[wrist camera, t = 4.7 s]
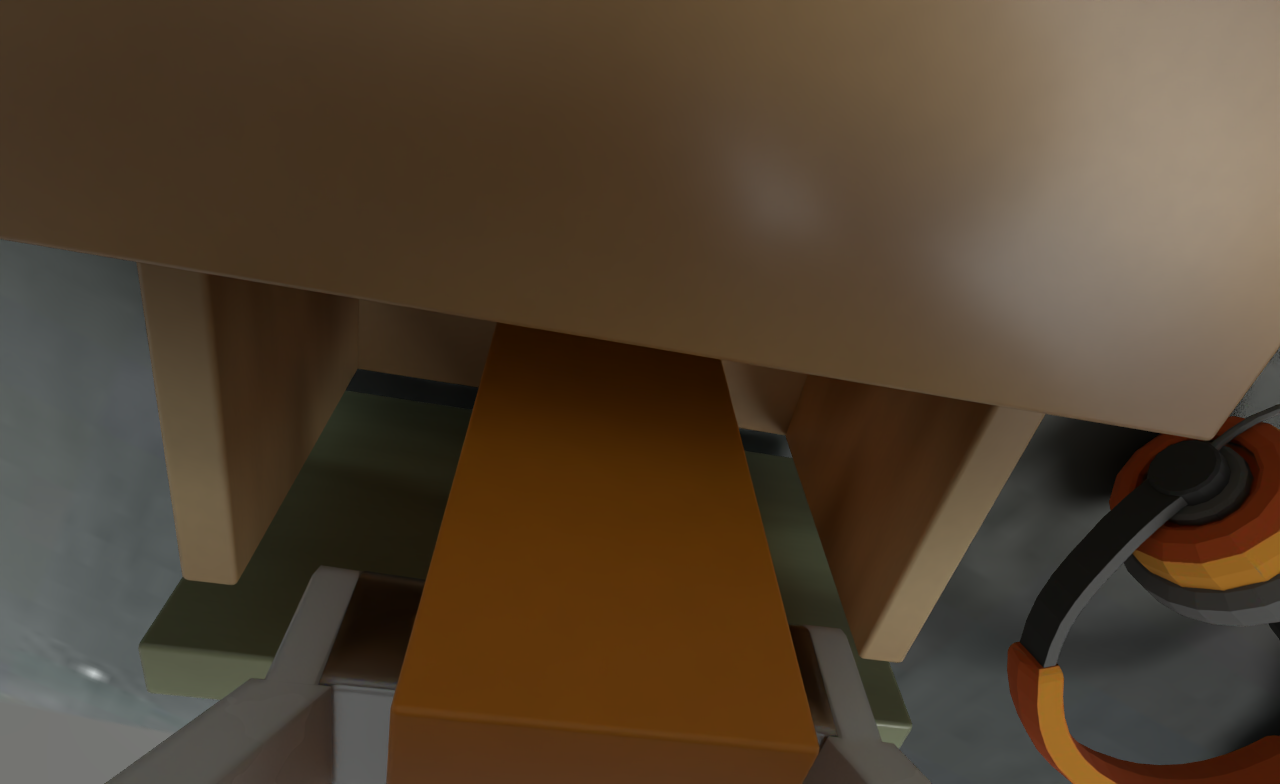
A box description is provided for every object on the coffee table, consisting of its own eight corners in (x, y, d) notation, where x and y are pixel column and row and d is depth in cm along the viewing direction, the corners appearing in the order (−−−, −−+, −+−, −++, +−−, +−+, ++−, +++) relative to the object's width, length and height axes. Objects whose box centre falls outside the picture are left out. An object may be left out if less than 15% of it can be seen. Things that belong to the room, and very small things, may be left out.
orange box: (522, 225, 15) (388, 709, 6) (696, 258, 16) (824, 751, 6) (499, 407, 18) (374, 964, 8) (652, 430, 18) (698, 980, 9)
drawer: (758, 600, 23) (818, 879, 16) (310, 544, 21) (172, 832, 14) (1033, -78, 14) (1422, -73, 7) (290, -272, 12) (-102, -503, 5)
